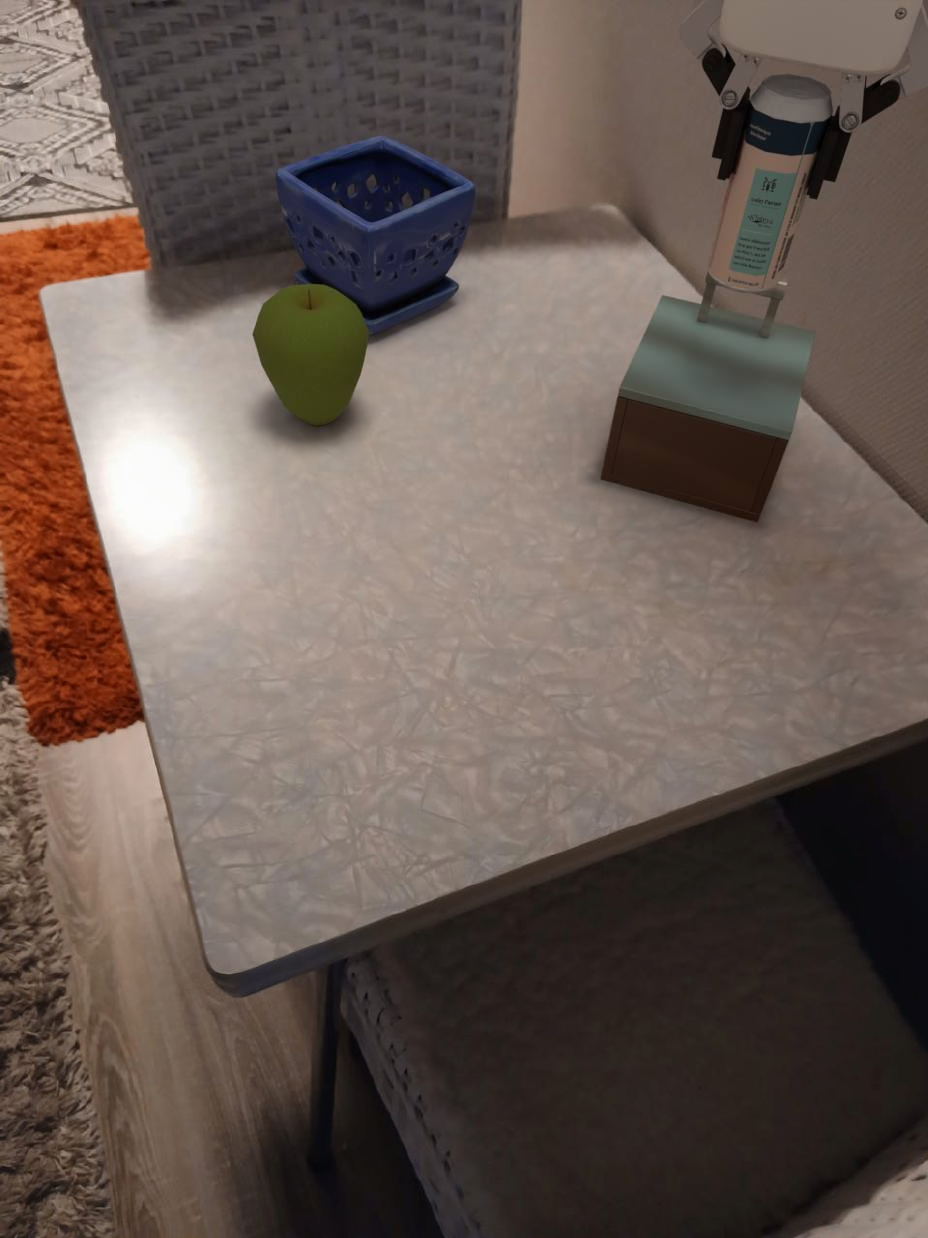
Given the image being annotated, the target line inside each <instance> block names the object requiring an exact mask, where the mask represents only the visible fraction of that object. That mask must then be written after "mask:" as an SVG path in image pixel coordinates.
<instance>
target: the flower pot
mask: <svg viewBox="0 0 928 1238" xmlns="http://www.w3.org/2000/svg"><path fill="white" fill-rule="evenodd" d="M372 176H373V177H374V179H375V185H374V186H372V187H371V188H370V189H369V186H368V185H367V181H368V180H369V179H370V178H371V177H372ZM334 184H335V186H334V188H333V185H334ZM275 185H276V192H277V193H276V194H277V197H278V204H279V208H280V211H281V214H282V219H283V221H284V225H285V227H286V230H287V233H288V235H289V238H290V240H291V243H292V245H293V247H294V249H295V250H296V252H297V255H298V256H299V258H300V259H301V261H302V262H303V264H304V265H305V266H304V267H303V268H300V269H298V270H296V271H295V272H294V273H293V276H294V279H295V281H296V283H297V285H301V284H320V285H326V286H328V287H331V288H333V289H335V290H337V291H339V292H340V293H341V294H343V295H344V296H346V297H347V298H348V299H350V300H351V301H352V302H353V303H355V304H356V305H357V307H358V308H359V310H360V312H361V313H362V316H363V318H364V320H365V323H366V325H367V328H368V330H369V333H370V334H369V335H376V334H379V333H380V332H383V331H385V330H388V329H390V328H392V327H394V326H396V325H399V324H402V323H403V322H406V321H409V320H410V319H412V318H414V317H417V316H419V315H421V314H423V313H425V312H428V311H430V310H432V309H434V308H436V307H440V306H441V305H443V304H444V303H446V302H447V301H449V300H450V299H451V298H452V297H453V296H455V294H457V292H459V289H460V284H459V282H458V283H457V281H455V280H454V279H453V278H451V277H449V276H448V275H447V274H448V273H449V271H450V270H451V269H452V267H453V265H454V264H455V262H456V260H457V258H458V256H459V254H460V252H461V250H462V247H463V245H464V242H465V240H466V237H467V235H468V231H469V229H470V224H471V221H472V215H473V212H474V206H475V200H476V191H477V188H476V185H475V183H473V182H472V181H471V180H470V179H467V178H466V177H465V176H463V175H462V174H459V173H458V172H456V171H455V170H452V169H451V168H449V167H448V166H445V165H444V164H442V163H440V162H438V161H436V160H435V159H433V158H431V157H429V156H427V155H425V154H423V153H422V152H420V151H417V150H415V149H414V148H411V147H410V146H408V145H406V144H404V143H402V142H400V141H397V140H395V139H392V138H390V137H388V136H385V135H377V136H372V137H370V138H365V139H362V140H359V141H356V142H353V143H348V144H346V145H343V146H340V147H336V148H334V149H331V150H329V151H325V152H322V153H319V154H317V155H314V156H311V157H307V158H305V159H302V160H300V161H299V160H298V161H297V162H294V163H291V164H288V165H285V166H283V167H280V168H278V169H277V170H276V172H275ZM352 185H353V188H354V189H353V190H354V191H353V192H352V193H348V190H349V187H350V186H352ZM425 190H427V191H428V192H429V198H428V199H426V200H425ZM406 194H408V195H409V198H410V200H411V201H412V204H411V206H410V207H407V208H406V207H405V204H404V202H403V198H404V196H405V195H406ZM337 202H338V203H337ZM365 204H366V206H365ZM391 204H392V208H391V207H390V205H391Z"/></svg>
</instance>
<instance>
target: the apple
mask: <svg viewBox="0 0 928 1238" xmlns="http://www.w3.org/2000/svg"><path fill="white" fill-rule="evenodd" d="M370 335H371V334H370V333H369V330H368V328H367V325H366V323H365V320H364V318H363V316H362V313H361V312H360V310H359V308H358V307H357V305H356V304H355V303H353V302H352V301H351V300H350V299H348V298H347V297H346V296H344V295H343V294H341V293H340V292H339V291H337V290H335V289H333V288H331V287H328V286H326V285H320V284H301V285H299V284H293V285H290V286H287V287H284V288H282V289H280V290H279V291H278V292H276V293H275V294H273V295H272V296H271V297H269V298H268V299H267V300H266V301H264V302H263V303H262V306H261V308H260V311H259V313H258V316H257V319H256V322H255V325H254V328H253V330H252V338H253V342H254V344H255V348H256V352H257V355H258V358H259V361H260V365H261V367H262V369H263V371H264V373H265V375H266V377H267V379H268V380H269V382H270V384H271V387H273V389H274V391H275V393H276V394H277V396H278V398H279V400H280V402H281V404H282V406H283V407H284V408H285V409H287V411H289V413H290V414H292V415H294V416H295V417H297V418H298V419H299V420H301V421H302V422H304V423H306V424H308V425H310V426H317V427H319V426H324V425H327V424H330V423H332V422H334V421H336V420H337V418H338V417H340V415H341V414H342V413H343V412H344V411H345V410H346V409H347V408H348V407H349V405H350V404H351V403H350V402H351V400H352V398H353V395H354V392H355V390H356V389H357V388H356V387H357V385H358V382H359V379H360V377H361V375H362V371H363V367H364V364H365V359H366V355H367V354H366V353H367V350H368V349H367V348H368V344H369V339H370Z"/></svg>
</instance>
